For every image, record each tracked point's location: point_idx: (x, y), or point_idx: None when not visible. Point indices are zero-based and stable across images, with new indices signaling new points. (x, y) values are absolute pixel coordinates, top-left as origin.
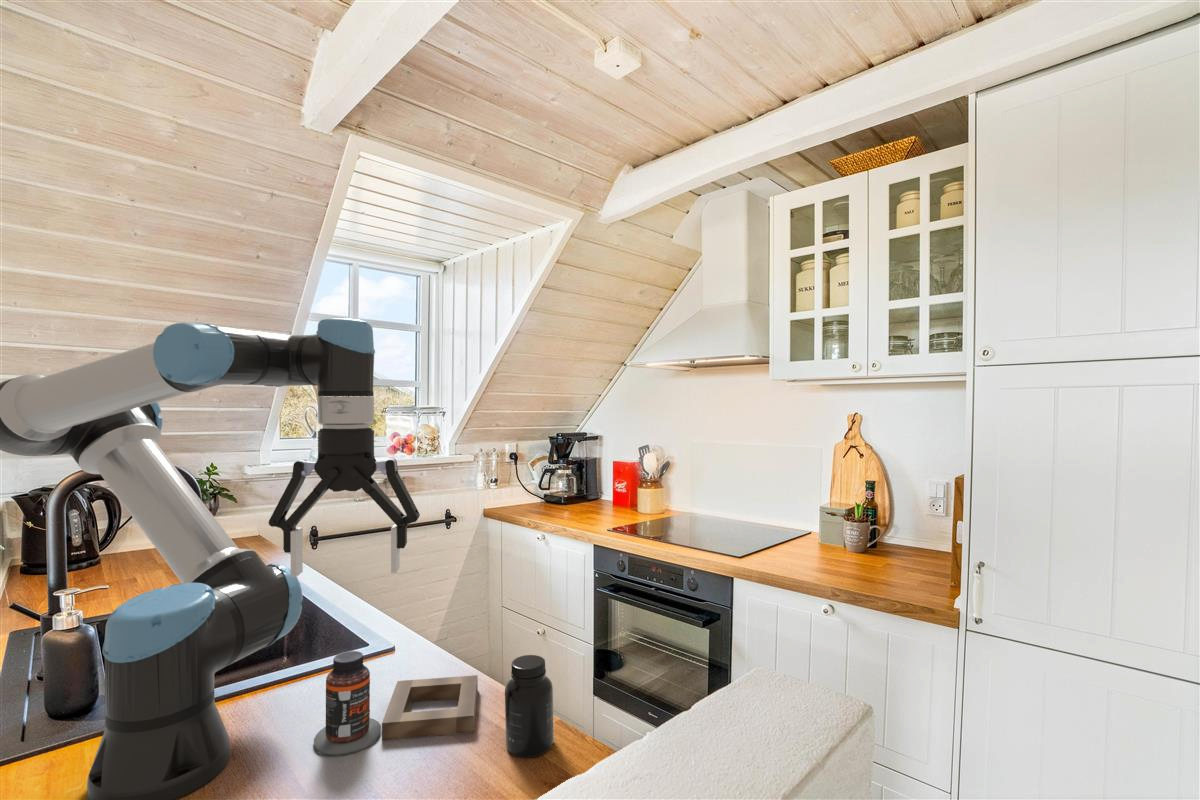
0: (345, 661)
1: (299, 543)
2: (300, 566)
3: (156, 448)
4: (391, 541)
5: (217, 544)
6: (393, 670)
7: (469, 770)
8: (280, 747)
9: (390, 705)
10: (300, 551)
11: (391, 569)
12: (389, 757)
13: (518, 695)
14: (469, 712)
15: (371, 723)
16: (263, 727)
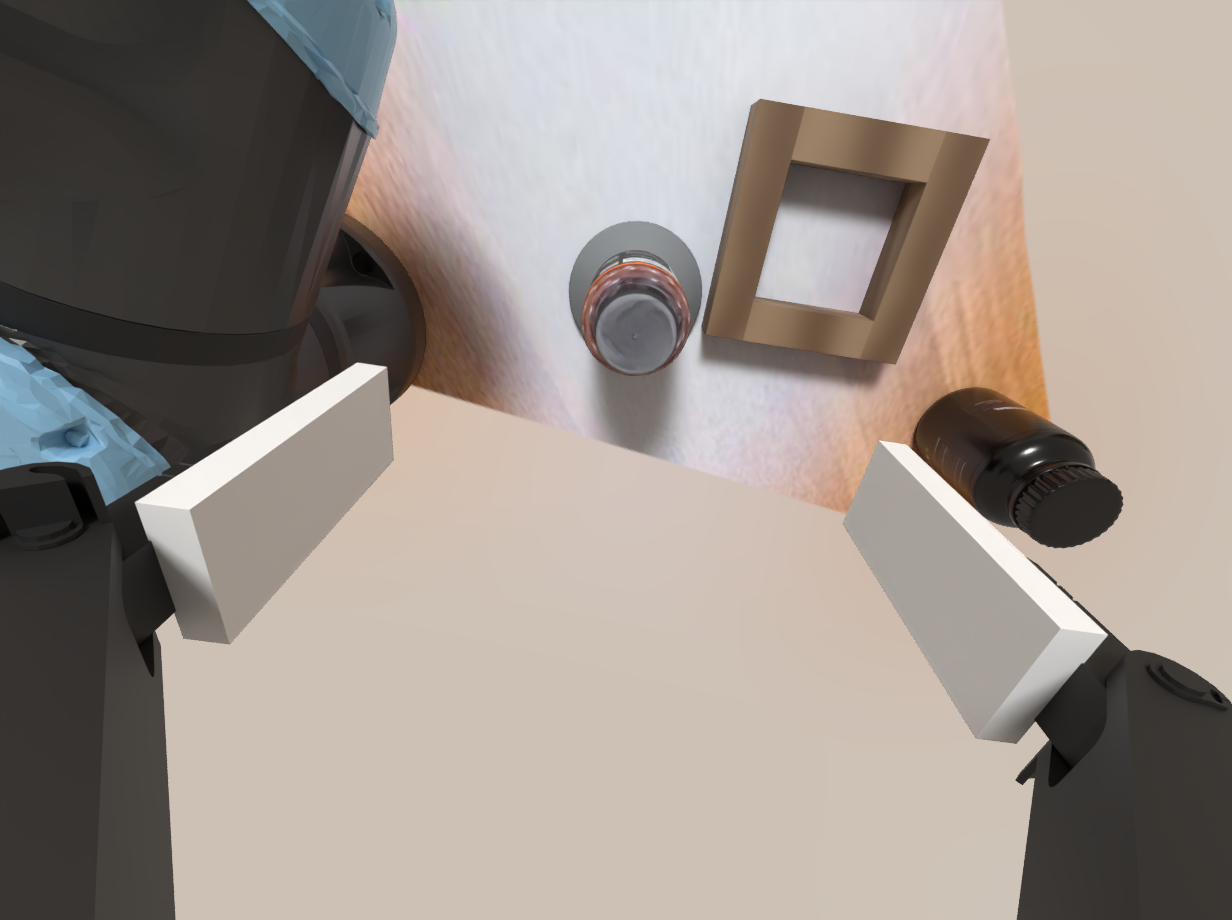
0: (631, 371)
1: (290, 506)
2: (371, 416)
3: None
4: (925, 650)
5: None
6: None
7: (834, 462)
8: (506, 287)
9: (729, 256)
10: (324, 457)
11: (851, 535)
12: (712, 387)
13: (989, 519)
14: (892, 348)
15: (682, 266)
16: (441, 181)
